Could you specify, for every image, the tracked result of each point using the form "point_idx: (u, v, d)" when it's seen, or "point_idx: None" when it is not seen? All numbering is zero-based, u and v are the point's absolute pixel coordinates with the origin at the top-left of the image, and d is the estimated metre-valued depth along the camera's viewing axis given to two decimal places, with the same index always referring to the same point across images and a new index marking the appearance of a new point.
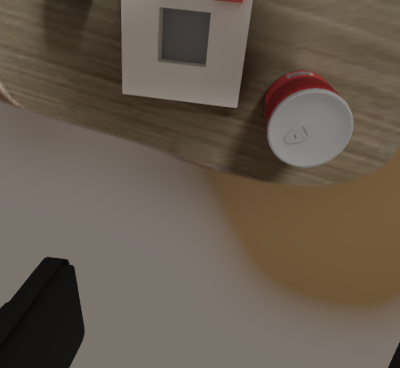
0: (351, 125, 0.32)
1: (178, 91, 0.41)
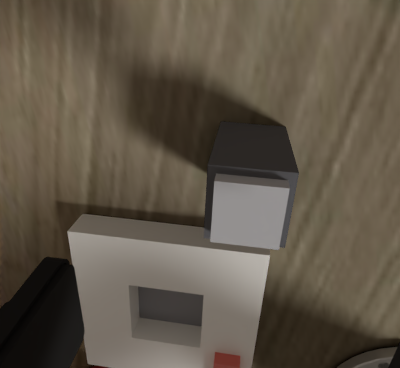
0: None
1: (92, 306, 0.27)
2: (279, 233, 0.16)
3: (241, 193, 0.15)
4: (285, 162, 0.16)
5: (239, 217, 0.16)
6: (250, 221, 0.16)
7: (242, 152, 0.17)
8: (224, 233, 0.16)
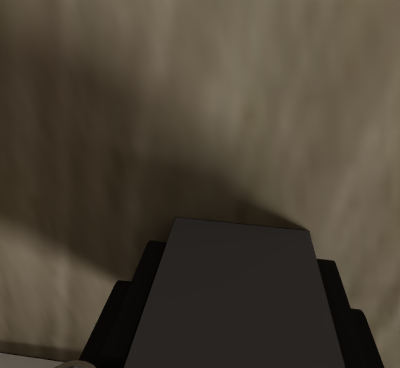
0: None
1: None
2: None
3: None
4: None
5: None
6: None
7: None
8: None
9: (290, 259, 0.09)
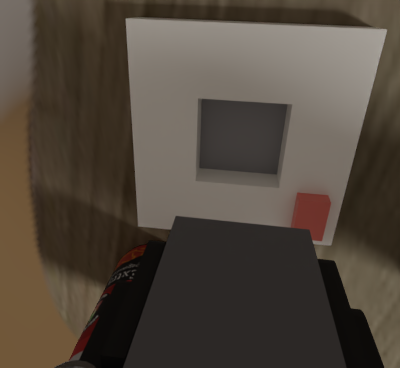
0: None
1: (149, 137, 0.22)
2: None
3: None
4: None
5: None
6: None
7: None
8: None
9: (290, 257, 0.09)
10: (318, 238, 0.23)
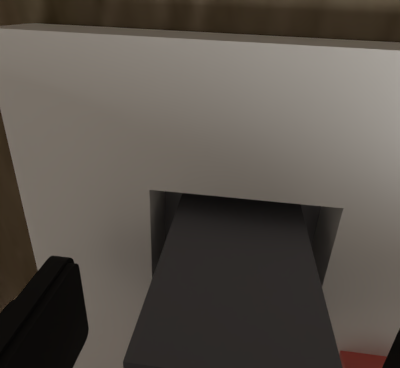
0: None
1: (63, 251, 0.12)
2: None
3: None
4: (310, 337, 0.07)
5: None
6: None
7: (213, 294, 0.08)
8: None
9: (281, 215, 0.11)
10: None
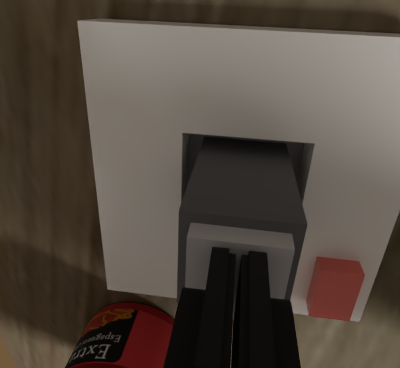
0: None
1: (117, 181, 0.17)
2: None
3: None
4: (287, 204, 0.12)
5: None
6: None
7: (228, 187, 0.12)
8: None
9: (273, 153, 0.16)
10: (344, 317, 0.17)
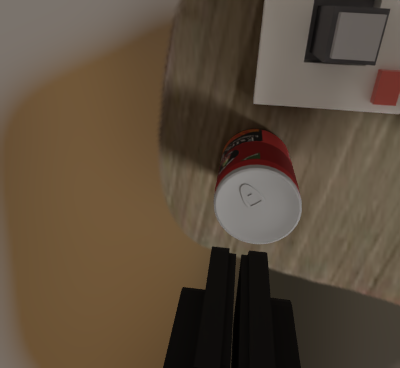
0: (263, 242, 0.32)
1: (274, 26, 0.31)
2: (376, 48, 0.26)
3: (356, 20, 0.25)
4: None
5: (352, 38, 0.26)
6: (359, 40, 0.26)
7: None
8: (341, 51, 0.26)
9: None
10: (393, 103, 0.32)
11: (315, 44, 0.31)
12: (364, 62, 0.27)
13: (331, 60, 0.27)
